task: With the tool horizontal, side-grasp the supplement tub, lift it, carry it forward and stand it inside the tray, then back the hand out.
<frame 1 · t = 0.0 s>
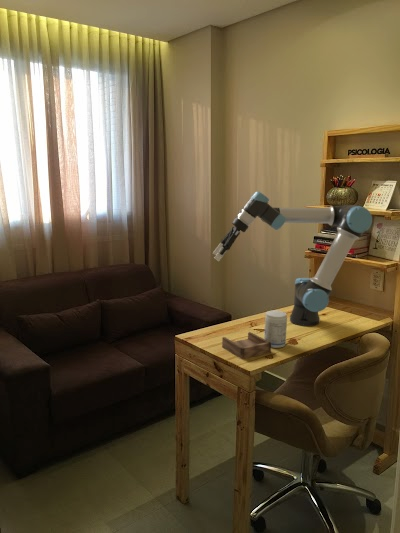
hand: (215, 257, 216), 36 cm above the table, tool tilted 35°, fingers open, 13 cm apart
tray: (246, 349, 197), on the table
supplement tub: (274, 345, 204), on the table
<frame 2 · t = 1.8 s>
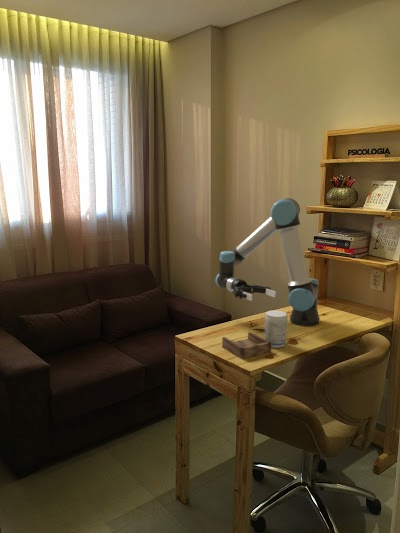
hand: (263, 296, 208), 20 cm above the table, tool horizontal, fingers open, 13 cm apart
nothing on the table moved.
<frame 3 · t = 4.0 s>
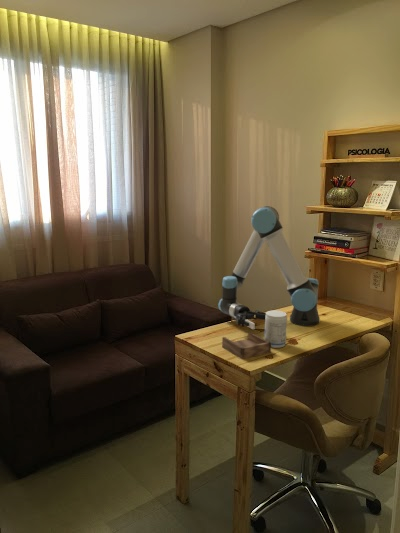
hand: (266, 324, 207), 8 cm above the table, tool horizontal, fingers open, 13 cm apart
nothing on the table moved.
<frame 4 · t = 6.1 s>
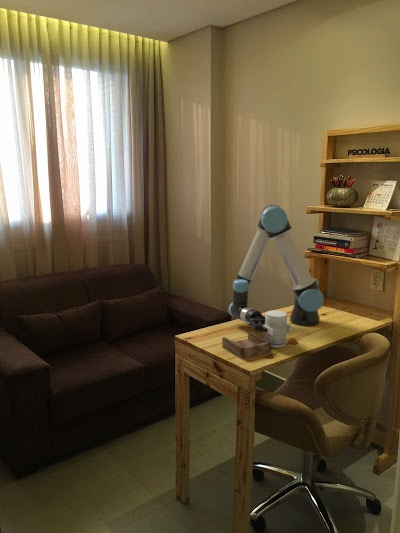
hand: (282, 330, 198), 8 cm above the table, tool horizontal, fingers closed on supplement tub, 9 cm apart
supplement tub: (274, 345, 204), on the table, touching gripper
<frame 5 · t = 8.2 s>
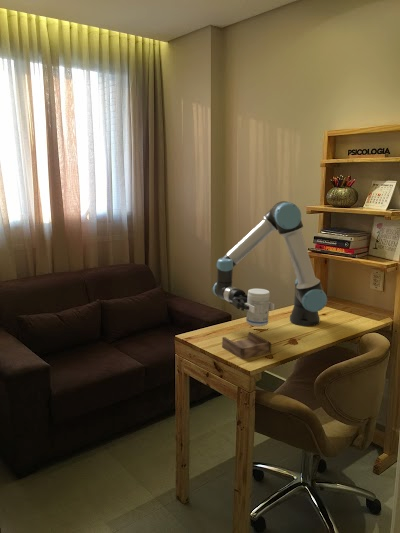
hand: (264, 308, 193), 19 cm above the table, tool horizontal, fingers closed on supplement tub, 9 cm apart
supplement tub: (257, 324, 198), point 11 cm above the table, touching gripper
when the fingers open (11 cm above the table, at t = 10.4 s): supplement tub drops 1 cm, resting on tray.
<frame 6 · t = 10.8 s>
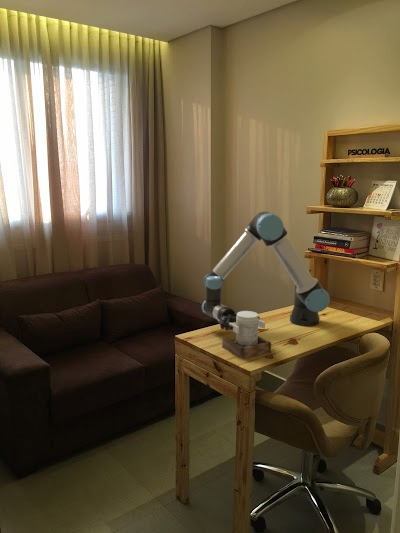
hand: (251, 327, 192), 11 cm above the table, tool horizontal, fingers open, 13 cm apart
supplement tub: (246, 346, 197), point 1 cm above the table, touching tray
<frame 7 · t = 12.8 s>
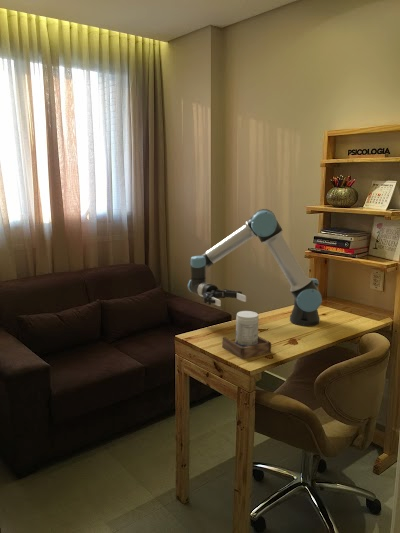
hand: (233, 301, 202), 19 cm above the table, tool horizontal, fingers open, 13 cm apart
nothing on the table moved.
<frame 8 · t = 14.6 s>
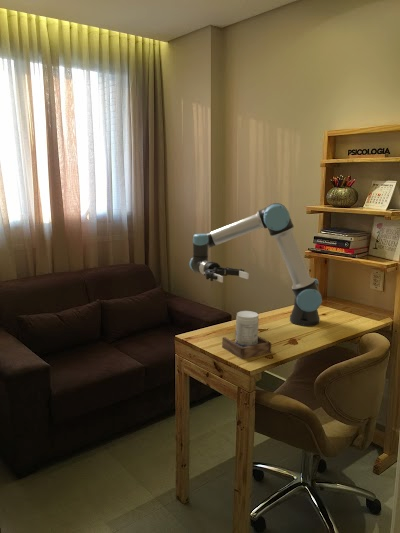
hand: (235, 277, 199), 30 cm above the table, tool horizontal, fingers open, 13 cm apart
nothing on the table moved.
at the end: supplement tub inside the target area on the tray (0.1 cm from its centre), point 1.3 cm above the tray's base; supplement tub tilted 0°; the gripper is holding nothing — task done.
